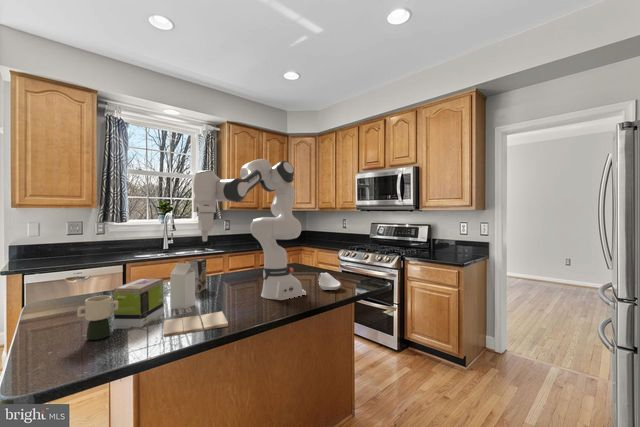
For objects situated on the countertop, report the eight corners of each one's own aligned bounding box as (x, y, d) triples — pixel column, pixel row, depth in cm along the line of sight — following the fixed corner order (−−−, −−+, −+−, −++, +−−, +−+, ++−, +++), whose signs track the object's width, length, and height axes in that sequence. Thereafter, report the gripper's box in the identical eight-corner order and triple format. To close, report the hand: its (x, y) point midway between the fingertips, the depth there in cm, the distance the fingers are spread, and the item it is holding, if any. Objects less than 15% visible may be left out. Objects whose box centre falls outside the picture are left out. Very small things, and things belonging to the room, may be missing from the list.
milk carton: (184, 310, 126) (185, 265, 126) (170, 309, 127) (170, 264, 127) (195, 305, 133) (195, 262, 133) (180, 304, 134) (181, 261, 134)
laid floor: (198, 319, 115) (198, 315, 115) (202, 332, 103) (202, 328, 103) (164, 324, 110) (164, 320, 110) (163, 338, 98) (163, 334, 98)
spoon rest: (343, 292, 157) (343, 278, 157) (322, 293, 154) (322, 279, 154) (330, 282, 180) (330, 270, 180) (311, 283, 177) (311, 271, 177)
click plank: (222, 315, 119) (221, 311, 119) (228, 327, 107) (228, 322, 107) (200, 319, 116) (199, 315, 116) (203, 332, 103) (203, 327, 103)
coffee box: (199, 292, 153) (200, 261, 153) (187, 292, 153) (187, 261, 153) (206, 288, 162) (207, 258, 162) (195, 288, 163) (195, 258, 162)
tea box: (139, 314, 120) (140, 277, 120) (164, 315, 120) (164, 278, 120) (112, 329, 105) (113, 287, 105) (140, 329, 105) (141, 287, 105)
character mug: (115, 330, 104) (115, 293, 104) (120, 336, 99) (120, 297, 99) (75, 339, 97) (75, 299, 97) (78, 346, 92) (79, 304, 92)
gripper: (194, 208, 134) (194, 239, 134) (198, 207, 116) (198, 243, 116) (209, 208, 137) (209, 238, 137) (216, 208, 119) (215, 242, 119)
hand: (204, 241), depth 127 cm, fingers closed
